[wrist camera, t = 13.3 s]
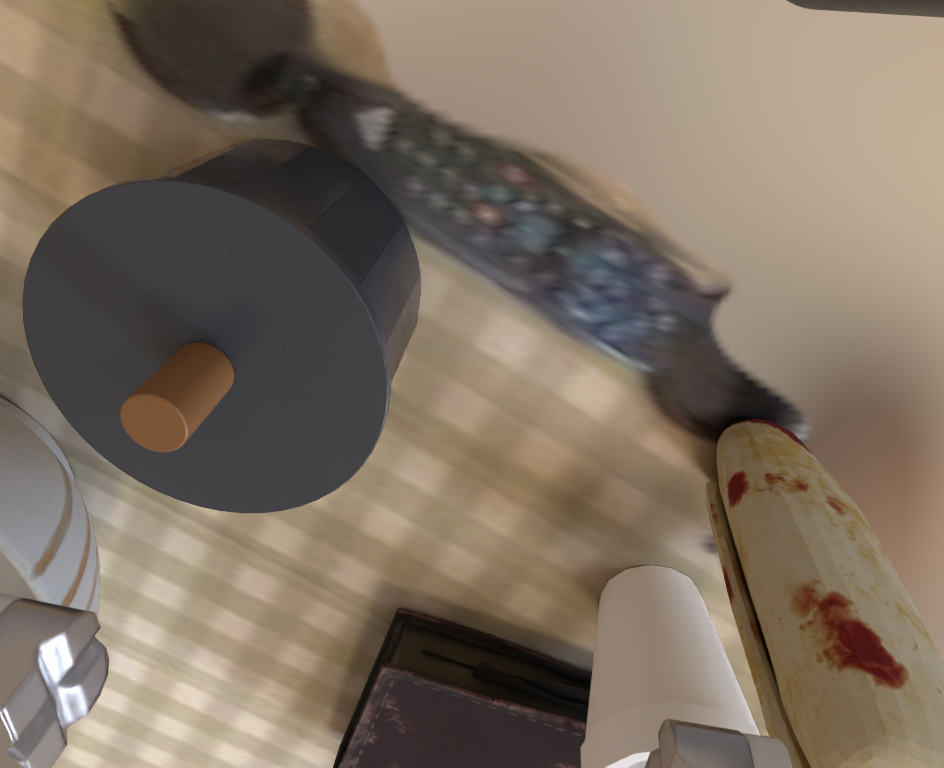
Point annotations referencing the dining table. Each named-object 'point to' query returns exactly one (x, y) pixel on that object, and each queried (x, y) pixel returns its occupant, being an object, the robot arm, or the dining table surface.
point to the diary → (464, 703)
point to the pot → (331, 220)
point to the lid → (207, 344)
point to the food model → (821, 611)
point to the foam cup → (655, 668)
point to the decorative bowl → (43, 519)
